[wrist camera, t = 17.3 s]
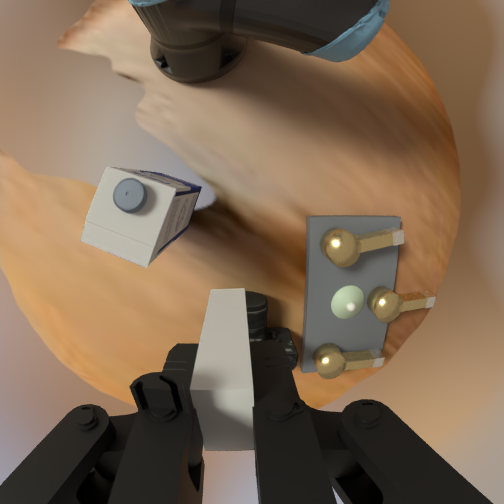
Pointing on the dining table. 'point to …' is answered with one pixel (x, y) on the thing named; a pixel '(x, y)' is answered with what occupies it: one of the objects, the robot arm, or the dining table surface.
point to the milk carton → (138, 213)
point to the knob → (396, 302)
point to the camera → (257, 326)
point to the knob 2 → (344, 360)
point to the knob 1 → (356, 243)
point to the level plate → (344, 289)
